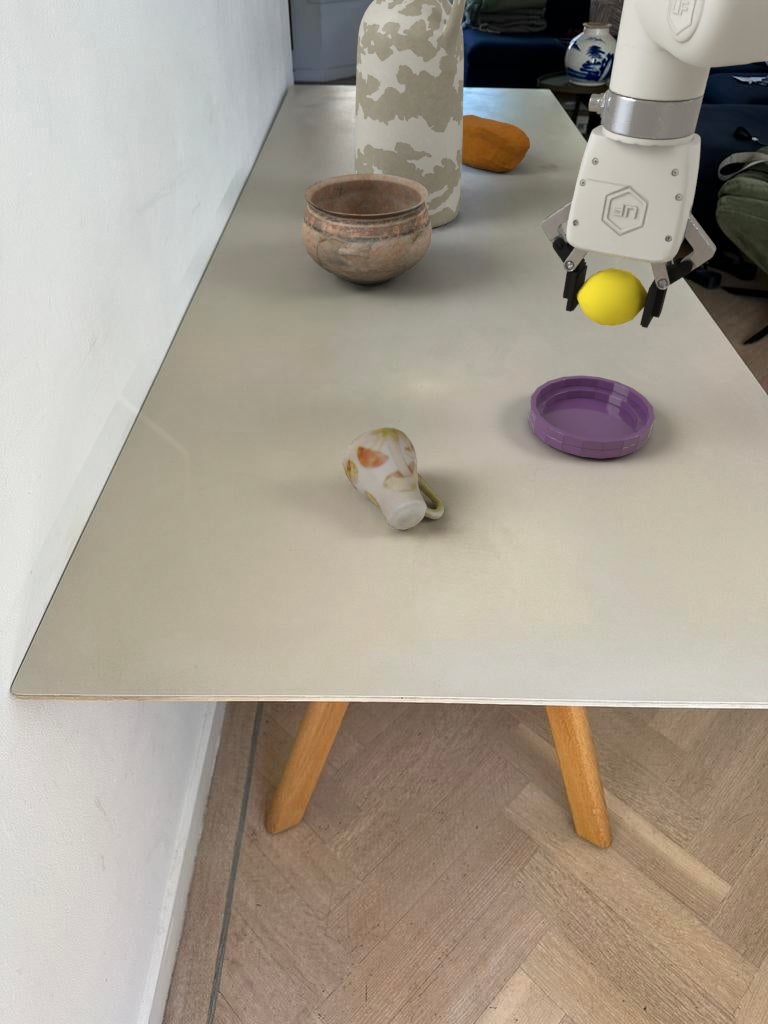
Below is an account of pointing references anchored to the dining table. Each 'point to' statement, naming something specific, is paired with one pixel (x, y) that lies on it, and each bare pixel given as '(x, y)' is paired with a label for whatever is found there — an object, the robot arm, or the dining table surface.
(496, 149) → the bread
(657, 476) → the dining table surface
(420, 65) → the vase
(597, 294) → the lemon
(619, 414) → the dish
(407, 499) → the mug
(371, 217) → the cooking pot
